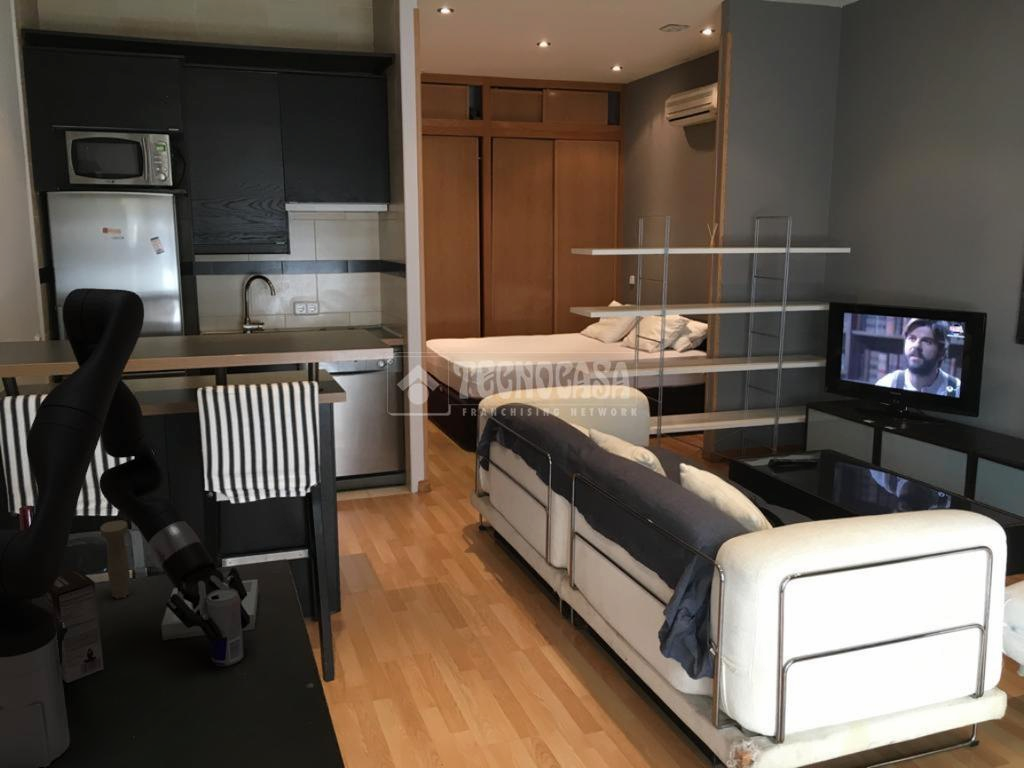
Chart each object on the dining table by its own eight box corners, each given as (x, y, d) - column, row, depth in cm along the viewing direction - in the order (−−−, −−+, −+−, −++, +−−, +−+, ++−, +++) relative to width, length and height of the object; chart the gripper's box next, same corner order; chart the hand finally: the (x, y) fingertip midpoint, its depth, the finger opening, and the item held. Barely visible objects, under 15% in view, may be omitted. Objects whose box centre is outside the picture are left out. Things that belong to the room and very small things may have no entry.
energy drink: (210, 655, 147) (204, 591, 144) (241, 648, 149) (236, 585, 146) (213, 669, 142) (207, 604, 139) (246, 662, 144) (241, 597, 142)
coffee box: (45, 665, 144) (34, 577, 141) (84, 651, 148) (74, 566, 145) (66, 684, 138) (55, 593, 135) (106, 669, 142) (96, 580, 139)
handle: (134, 587, 174) (127, 519, 171) (133, 600, 168) (126, 529, 165) (109, 591, 172) (101, 522, 169) (107, 604, 166) (99, 533, 164)
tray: (254, 629, 156) (253, 614, 155) (162, 640, 152) (161, 625, 151) (258, 593, 171) (257, 579, 170) (174, 602, 167) (173, 588, 167)
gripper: (153, 556, 139) (208, 640, 135) (222, 529, 151) (274, 605, 147) (136, 579, 143) (188, 662, 139) (205, 551, 155) (255, 626, 151)
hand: (232, 632), depth 143 cm, fingers closed on energy drink, 5 cm apart
